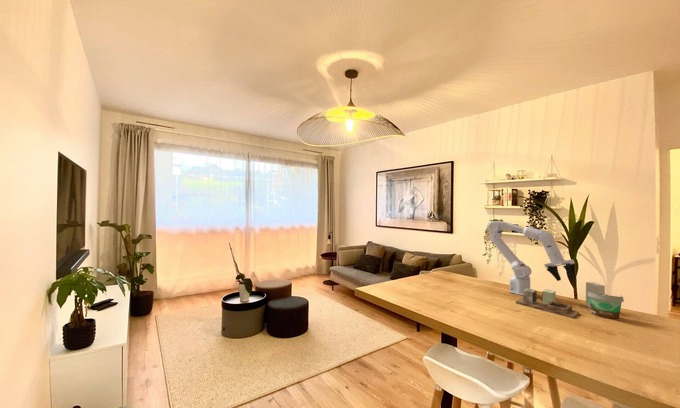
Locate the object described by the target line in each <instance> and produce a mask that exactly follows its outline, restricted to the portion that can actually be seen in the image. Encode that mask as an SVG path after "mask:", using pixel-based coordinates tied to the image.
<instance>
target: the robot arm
mask: <svg viewBox="0 0 680 408" xmlns="http://www.w3.org/2000/svg"><path fill="white" fill-rule="evenodd" d="M486 229H487V231H488V236H489V239H490V241H491V242H492V244H493V245H494V246H495V247H496V248H497V250H498V251H499V252H500V253H501V254H502V256H503V257H504V258H505V259H506V260H507V262H508V263H509V264H510V266H511V270H512V272H513V274H514V275H512V276H510V278H509V291H508V293H511V294H516V295H520V296H523V290H524V289H527V288H528V289H531V277H530V276H531V274H532V268H531V267H530V266H529V265H527V264H525V263H524V261H522V260H520V259H519V257H518V256H516V254H515V253H514V252H513V251H512V249H511V248H510V247H509V246H508V245H507V244H506V242H505V241H504V240H503V239H502V238H501V236H502V232H503V231H504V230H508V231H509V230H510V231H513V232H517V233H519V234H520V233H521V234H523V236H524V237H527V238H530V239H532V240H535V241H539V242H540V243H542V245H543V248H544V250H545V252H546V254H547V257H548V259H549V260H550V261H549V263H545V264H544V268H545V269H546V271H548V273H550V274H551V275H552V276H553V277H554V279H556V281H557V282H559V281H562V277H561V275H560V273H559V270H558V267H559V266H562V268H564V269H565V270H566V272H567V274H568V276H569V278H570V279H571V280H575V279H576V272H575V271H576V270H575V269H576V262H575V260H574V259H567V260H566V259H564V257H563V254H562V252H561V251H560V248H559V246H558V244H557V243H556V241H555V239H554V238H555V236H554V234H553V233H552V232H550V231H544V229H538V228H535V227H534V226H532V225H531V226H527V227H524V226H523V227H522V226H520V225H517V224H513V223H512V222H507V221H501V220H493V221H492V220H491V221H490V222H488V224H487V228H486Z"/></svg>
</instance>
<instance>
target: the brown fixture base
mask: <svg viewBox="0 0 680 408" xmlns="http://www.w3.org/2000/svg"><path fill="white" fill-rule="evenodd" d="M537 295H538V294H537V290H536V289H533V288H532V289H531V288H530V289H528V288H527V289H524V290H523V295H522V298H520V299H518V300H516V301H515V304H517V305H521V306H525V307H529V308H533V309H535V310H540V311H544V312H548V313H552V314H556V315H558V316H563V317H567V318H571V319H574V318H577V316H578V315H580V311H578V310H573V305H571V304H567V303H566V304H565V303H563V302H557V301H555V302H554V301H551V302H549V303H543V301H542V302H541V301H538V300H537Z"/></svg>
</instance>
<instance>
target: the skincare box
mask: <svg viewBox="0 0 680 408" xmlns="http://www.w3.org/2000/svg"><path fill="white" fill-rule="evenodd" d="M589 292H591V293H594V294H606V286H605V285H604V284H600V283H596V282H590V281H589V282H585V306H586V307H588V308H589V309H591V306H590V299H589V296H587V294H588V293H589Z"/></svg>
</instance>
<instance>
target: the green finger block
mask: <svg viewBox="0 0 680 408" xmlns="http://www.w3.org/2000/svg"><path fill="white" fill-rule="evenodd" d="M556 292H557V291H555V290H552V289H546V288H545V289H544V290H542V292H541V295H542V296H541V298H542V299H541V301H542V303H546V304H547V303H549V302H551V301H554V302H557V301H556Z"/></svg>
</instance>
